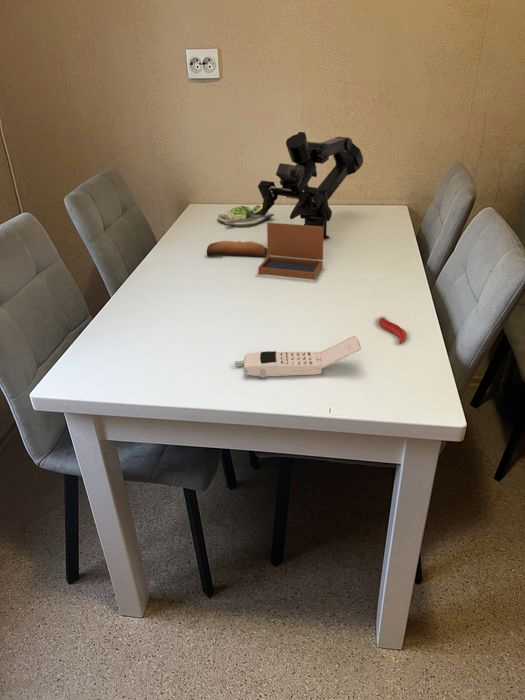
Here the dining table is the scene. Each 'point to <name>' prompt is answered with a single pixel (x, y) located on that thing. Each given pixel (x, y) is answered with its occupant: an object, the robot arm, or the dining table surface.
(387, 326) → the cayenne pepper
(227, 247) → the sunglasses case
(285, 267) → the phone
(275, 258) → the wooden box
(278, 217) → the dining table surface
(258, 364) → the mobile phone
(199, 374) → the dining table surface
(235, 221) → the salad plate
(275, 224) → the cover
